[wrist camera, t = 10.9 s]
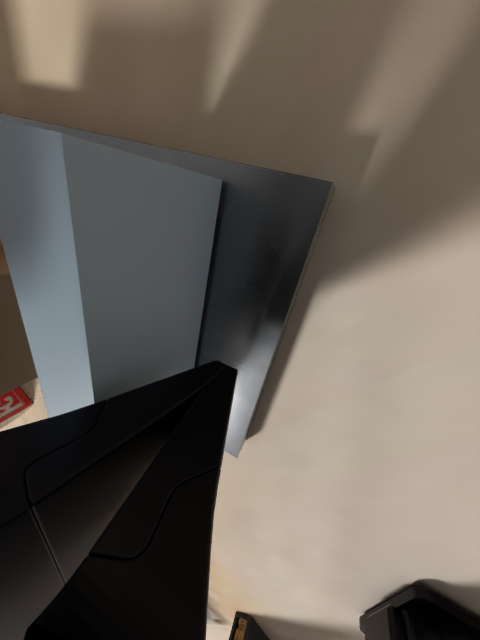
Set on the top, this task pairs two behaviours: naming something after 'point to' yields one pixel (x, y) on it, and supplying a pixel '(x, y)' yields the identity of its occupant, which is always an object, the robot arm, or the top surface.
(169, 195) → the plate
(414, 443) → the top surface
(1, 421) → the stack of blocks
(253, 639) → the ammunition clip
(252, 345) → the vise base
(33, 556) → the robot arm
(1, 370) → the walnut block
